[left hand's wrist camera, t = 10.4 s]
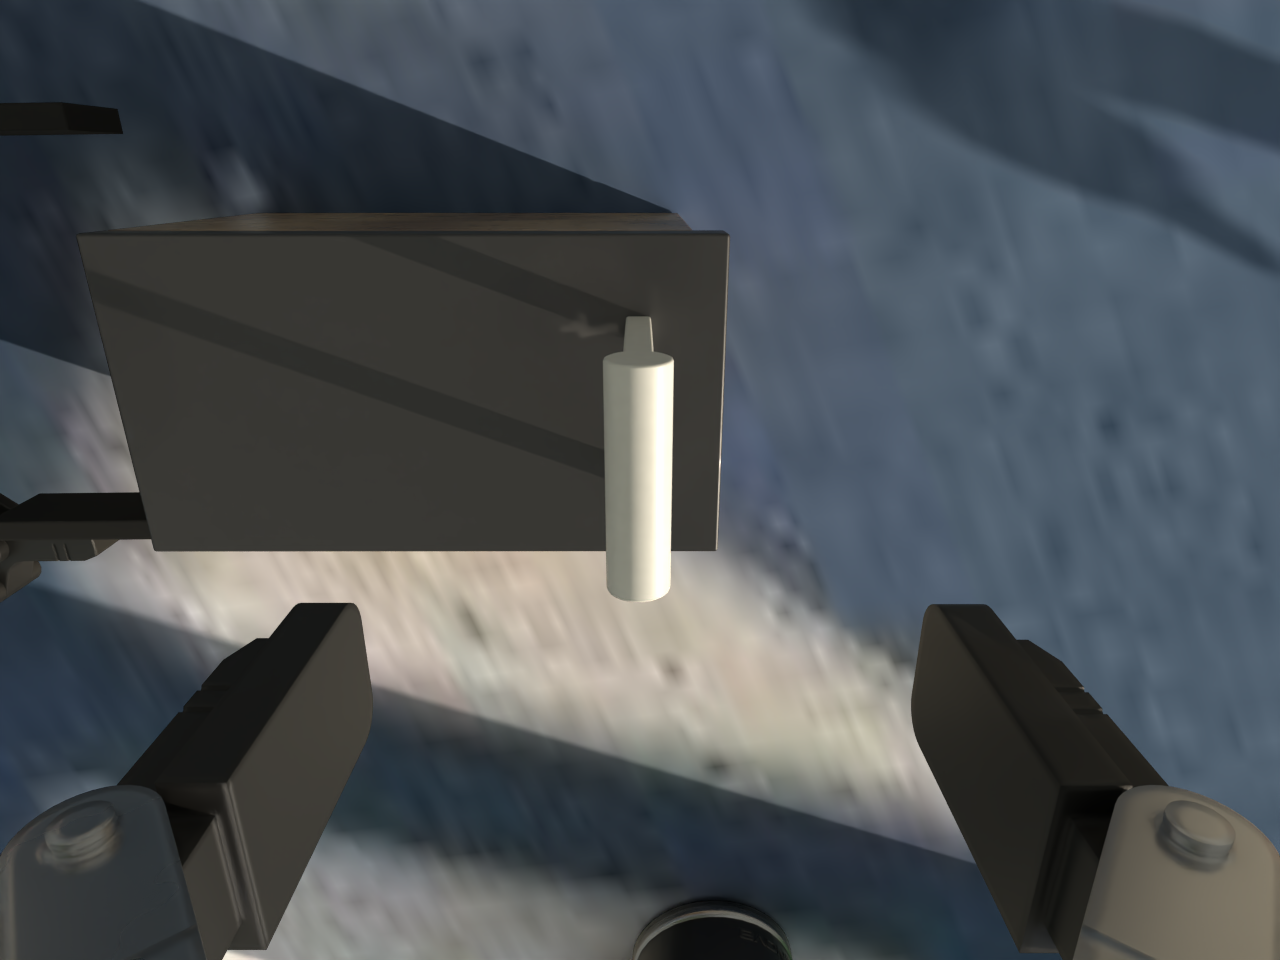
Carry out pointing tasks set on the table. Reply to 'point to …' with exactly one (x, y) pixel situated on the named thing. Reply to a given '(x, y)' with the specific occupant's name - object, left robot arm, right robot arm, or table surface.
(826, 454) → the table surface
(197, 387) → the lid
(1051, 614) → the table surface
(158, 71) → the table surface
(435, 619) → the table surface
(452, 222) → the chest
